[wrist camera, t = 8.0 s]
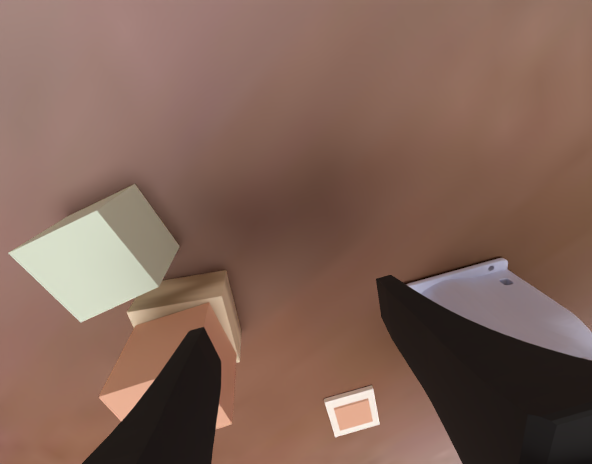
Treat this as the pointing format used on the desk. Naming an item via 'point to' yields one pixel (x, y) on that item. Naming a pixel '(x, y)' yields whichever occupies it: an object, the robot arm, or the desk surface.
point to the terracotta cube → (155, 354)
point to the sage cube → (101, 254)
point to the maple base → (191, 302)
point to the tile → (352, 411)
